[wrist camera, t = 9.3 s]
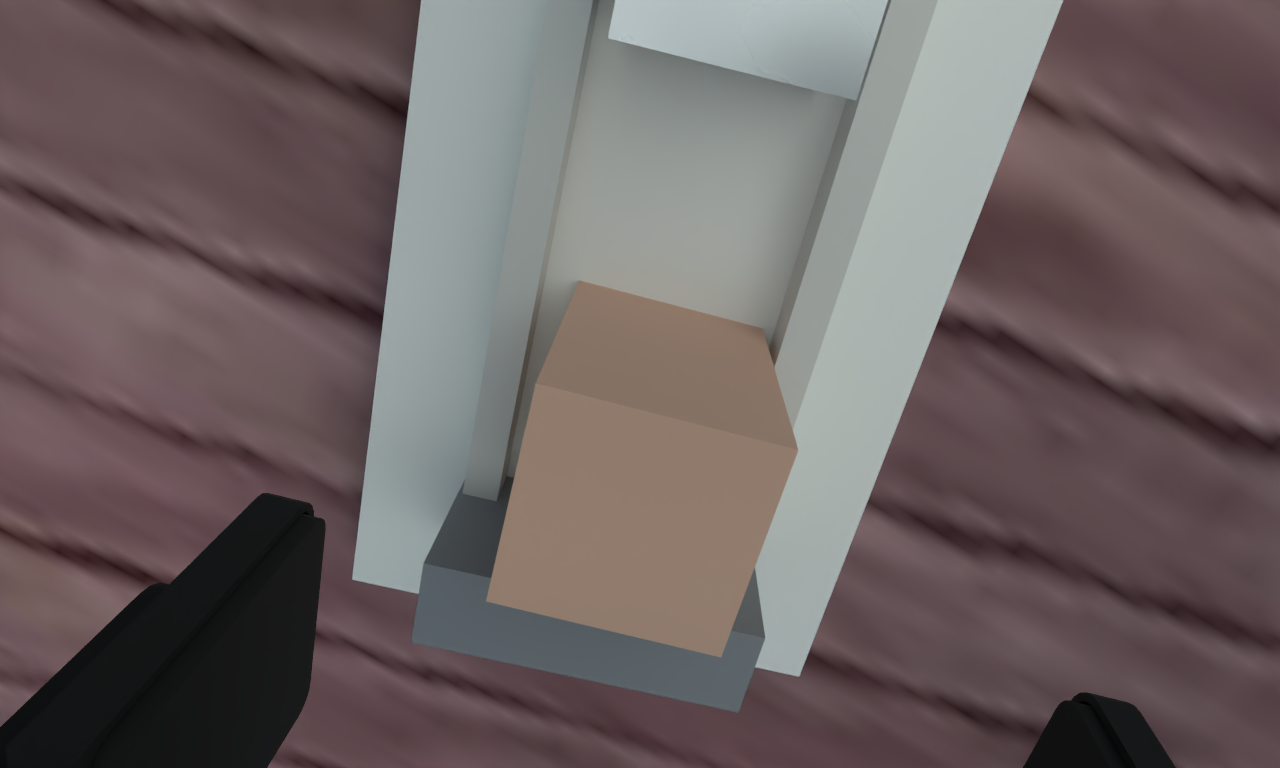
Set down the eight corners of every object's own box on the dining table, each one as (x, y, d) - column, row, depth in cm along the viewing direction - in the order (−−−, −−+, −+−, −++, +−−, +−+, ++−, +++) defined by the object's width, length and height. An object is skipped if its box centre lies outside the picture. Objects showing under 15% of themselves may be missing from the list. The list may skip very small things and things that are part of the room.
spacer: (762, 328, 19) (798, 450, 13) (709, 488, 20) (720, 657, 15) (578, 280, 18) (535, 383, 13) (540, 445, 20) (485, 601, 14)
